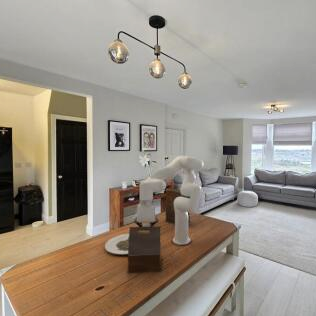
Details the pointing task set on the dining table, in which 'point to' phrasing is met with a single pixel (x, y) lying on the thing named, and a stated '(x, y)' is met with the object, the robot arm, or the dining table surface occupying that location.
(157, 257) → the chest
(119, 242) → the plated food
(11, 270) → the dining table surface
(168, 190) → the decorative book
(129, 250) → the lid
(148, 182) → the robot arm
